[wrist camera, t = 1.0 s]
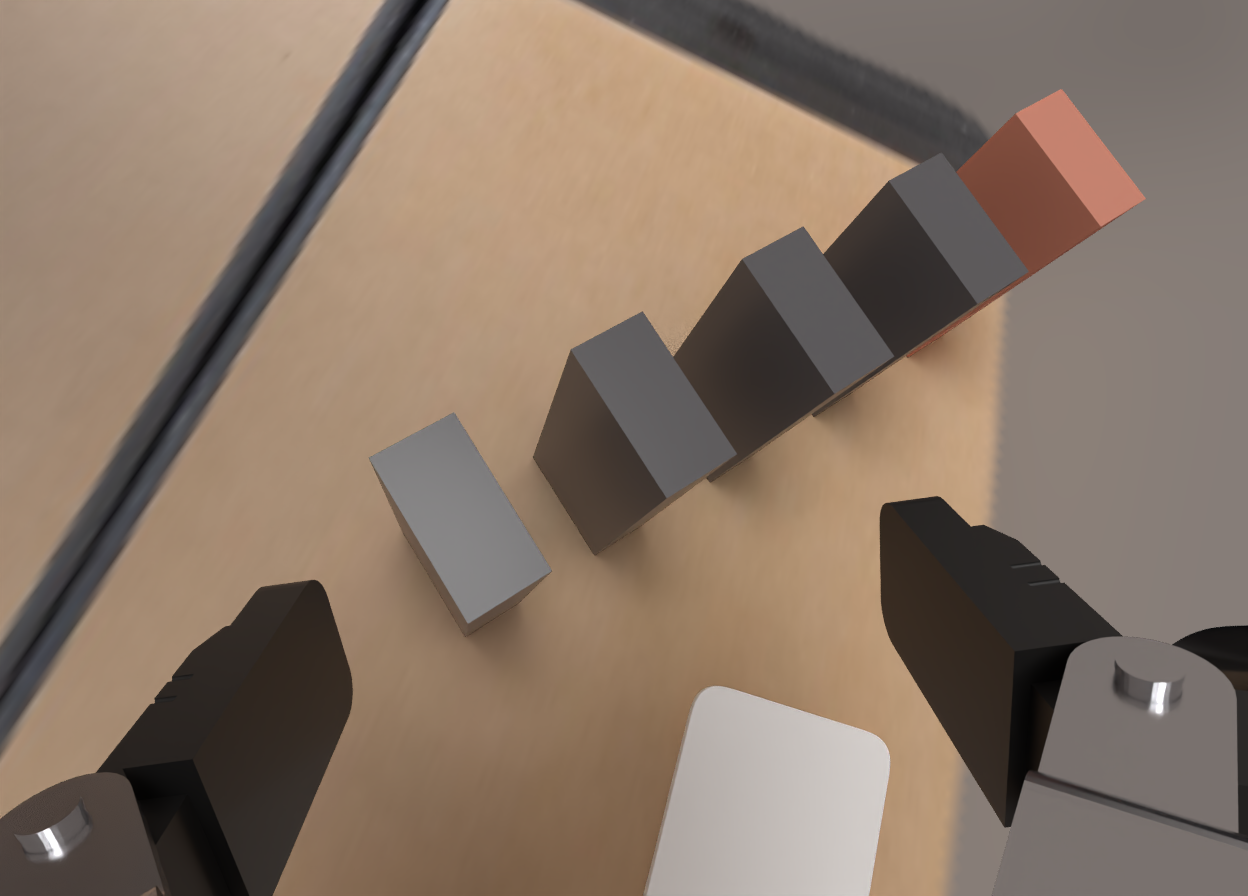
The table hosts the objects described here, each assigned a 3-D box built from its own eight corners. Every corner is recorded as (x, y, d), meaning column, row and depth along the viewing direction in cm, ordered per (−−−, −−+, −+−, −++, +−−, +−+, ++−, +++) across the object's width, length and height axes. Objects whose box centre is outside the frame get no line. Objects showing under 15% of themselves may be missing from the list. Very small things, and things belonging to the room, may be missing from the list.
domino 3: (710, 482, 28) (834, 394, 19) (649, 390, 29) (742, 259, 19) (752, 455, 29) (894, 356, 19) (693, 365, 29) (803, 226, 20)
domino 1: (465, 637, 25) (467, 623, 16) (402, 531, 26) (368, 458, 16) (518, 603, 26) (551, 571, 16) (456, 501, 26) (453, 412, 17)
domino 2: (594, 555, 27) (667, 498, 17) (532, 457, 27) (571, 349, 18) (642, 525, 27) (737, 454, 18) (581, 429, 28) (642, 311, 18)
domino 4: (813, 416, 30) (977, 303, 20) (755, 330, 30) (888, 180, 21) (852, 392, 30) (1029, 271, 21) (794, 308, 31) (941, 152, 21)
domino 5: (907, 357, 31) (1101, 226, 22) (850, 276, 32) (1015, 113, 22) (942, 335, 32) (1145, 198, 22) (886, 255, 32) (1061, 89, 23)
